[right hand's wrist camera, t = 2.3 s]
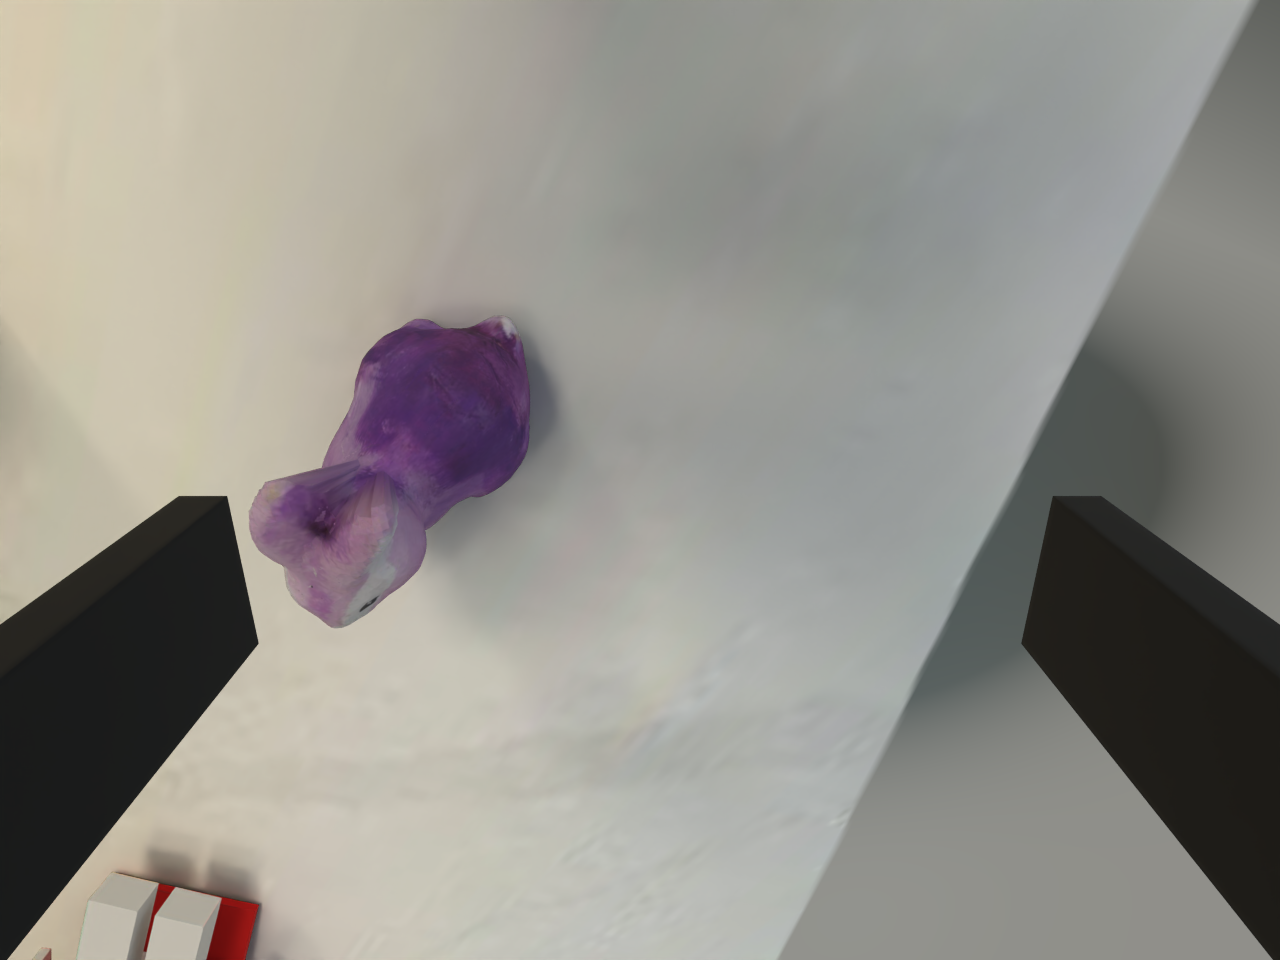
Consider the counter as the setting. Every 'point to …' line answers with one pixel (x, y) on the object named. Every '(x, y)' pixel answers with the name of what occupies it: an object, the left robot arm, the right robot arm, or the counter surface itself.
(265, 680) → the counter surface
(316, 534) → the figurine
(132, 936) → the toy
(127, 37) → the counter surface
